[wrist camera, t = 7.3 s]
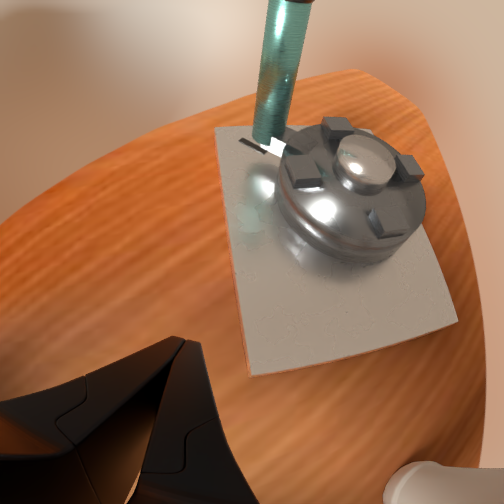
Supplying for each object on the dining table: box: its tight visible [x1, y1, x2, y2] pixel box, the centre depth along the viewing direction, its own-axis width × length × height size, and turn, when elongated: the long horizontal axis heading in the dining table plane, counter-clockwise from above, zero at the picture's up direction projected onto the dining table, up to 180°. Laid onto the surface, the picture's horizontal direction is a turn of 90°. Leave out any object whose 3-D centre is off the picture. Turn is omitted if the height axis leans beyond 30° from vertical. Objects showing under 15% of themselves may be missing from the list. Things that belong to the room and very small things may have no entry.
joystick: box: [252, 0, 426, 263], centre depth 17 cm, size 16×12×17 cm
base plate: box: [214, 125, 458, 378], centre depth 24 cm, size 22×17×2 cm
